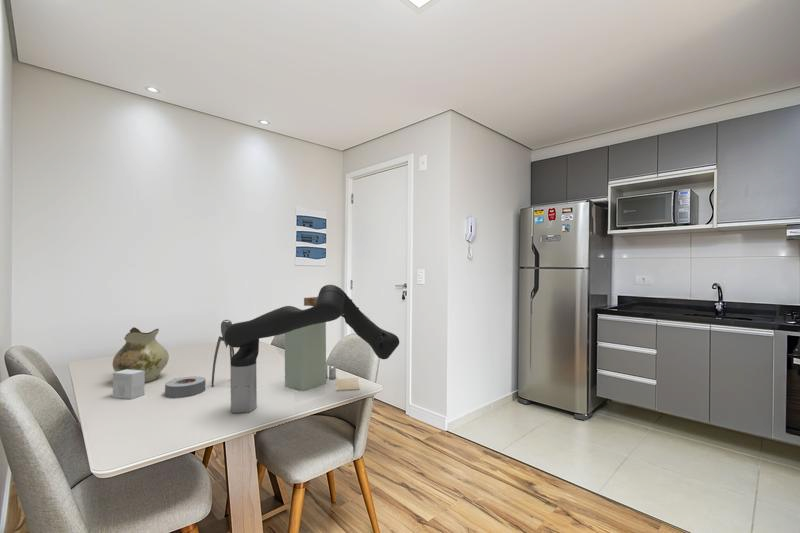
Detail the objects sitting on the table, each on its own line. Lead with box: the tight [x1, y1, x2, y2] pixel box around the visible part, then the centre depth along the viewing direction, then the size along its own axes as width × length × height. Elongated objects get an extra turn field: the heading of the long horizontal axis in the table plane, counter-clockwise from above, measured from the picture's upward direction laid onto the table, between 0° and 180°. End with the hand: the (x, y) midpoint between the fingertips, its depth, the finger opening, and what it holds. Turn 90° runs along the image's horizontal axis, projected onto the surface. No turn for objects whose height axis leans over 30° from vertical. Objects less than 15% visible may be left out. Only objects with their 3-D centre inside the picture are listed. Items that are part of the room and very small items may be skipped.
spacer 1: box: [326, 364, 329, 380], centre depth 184 cm, size 3×3×6 cm
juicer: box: [211, 319, 235, 388], centre depth 174 cm, size 10×11×30 cm
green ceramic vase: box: [112, 327, 170, 383], centre depth 183 cm, size 22×24×25 cm
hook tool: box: [303, 296, 353, 307], centre depth 167 cm, size 26×8×4 cm, turn 54°
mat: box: [335, 377, 360, 392], centre depth 173 cm, size 16×10×1 cm, turn 9°
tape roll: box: [164, 375, 206, 399], centre depth 165 cm, size 15×15×5 cm
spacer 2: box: [328, 365, 337, 381], centre depth 183 cm, size 3×3×6 cm
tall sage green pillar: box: [284, 322, 327, 392], centre depth 174 cm, size 13×15×32 cm
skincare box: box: [112, 369, 146, 400], centre depth 160 cm, size 10×6×10 cm, turn 74°
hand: (333, 299), depth 163 cm, fingers closed on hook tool, 4 cm apart
